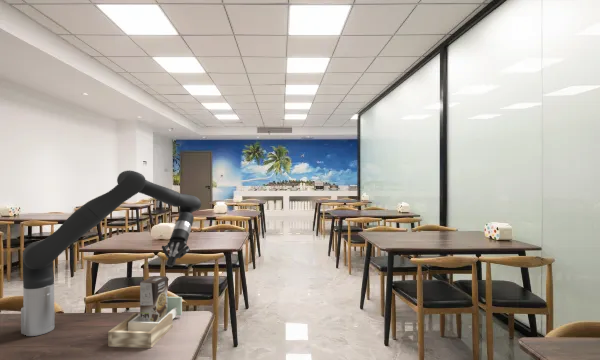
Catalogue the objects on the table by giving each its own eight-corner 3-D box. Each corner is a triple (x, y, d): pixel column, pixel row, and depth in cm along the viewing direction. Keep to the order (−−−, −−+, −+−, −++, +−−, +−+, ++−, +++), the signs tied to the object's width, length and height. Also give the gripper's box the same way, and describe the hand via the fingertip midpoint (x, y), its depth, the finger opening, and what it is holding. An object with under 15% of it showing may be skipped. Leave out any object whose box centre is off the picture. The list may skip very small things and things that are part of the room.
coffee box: (154, 325, 130) (154, 283, 129) (139, 324, 131) (139, 282, 130) (168, 315, 138) (168, 276, 138) (153, 314, 140) (153, 275, 139)
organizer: (108, 346, 118) (108, 331, 118) (134, 325, 134) (134, 312, 134) (151, 348, 117) (151, 333, 117) (172, 326, 133) (172, 313, 133)
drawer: (123, 330, 127) (123, 311, 127) (146, 313, 143) (146, 295, 143) (163, 332, 126) (163, 312, 126) (181, 314, 142) (181, 296, 142)
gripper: (164, 227, 157) (151, 261, 145) (192, 227, 157) (182, 261, 145) (169, 237, 163) (157, 270, 151) (197, 237, 162) (187, 270, 150)
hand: (169, 265), depth 148 cm, fingers closed
